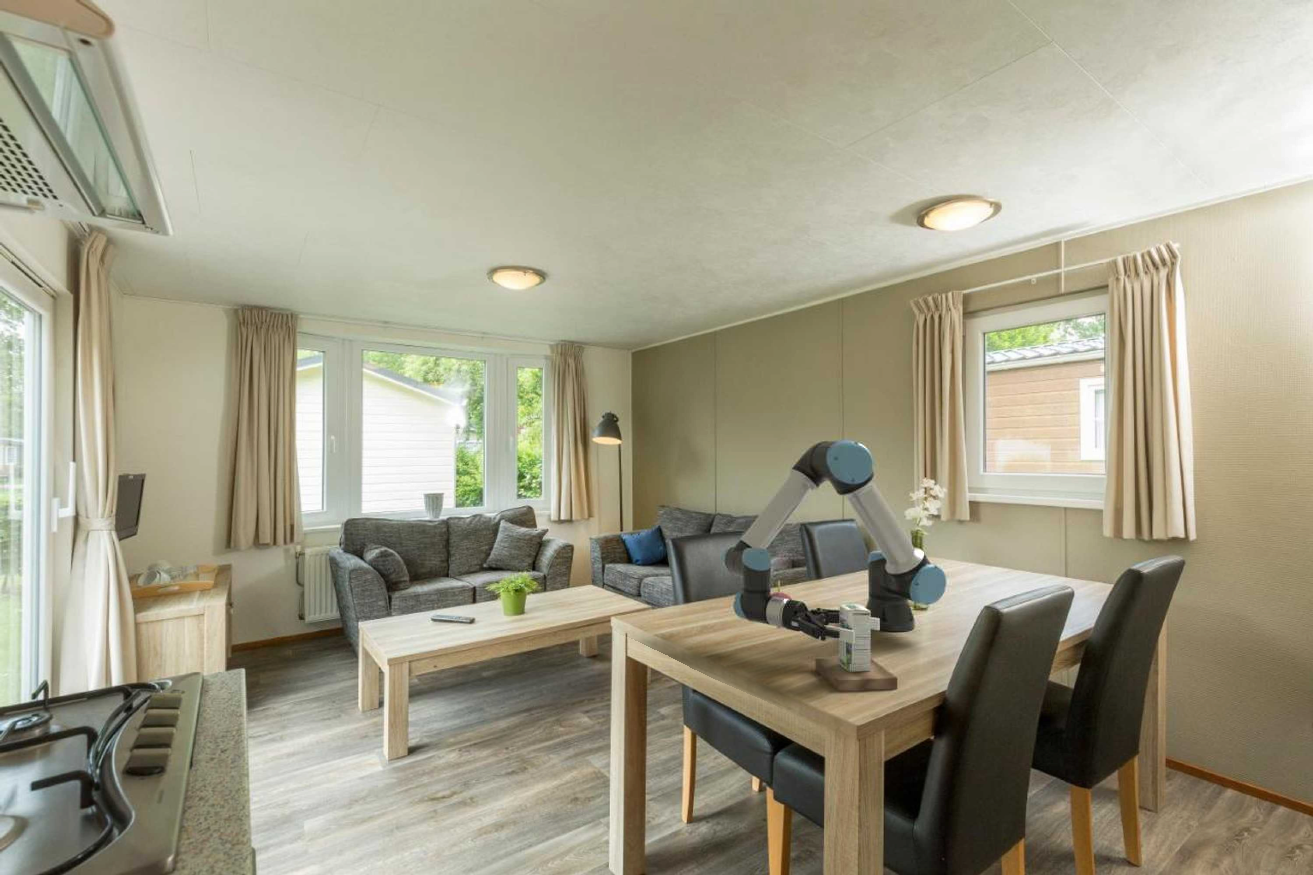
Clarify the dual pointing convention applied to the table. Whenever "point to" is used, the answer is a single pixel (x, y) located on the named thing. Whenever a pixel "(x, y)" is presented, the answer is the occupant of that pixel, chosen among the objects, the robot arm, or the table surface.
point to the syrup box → (859, 652)
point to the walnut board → (855, 676)
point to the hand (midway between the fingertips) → (867, 630)
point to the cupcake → (780, 593)
